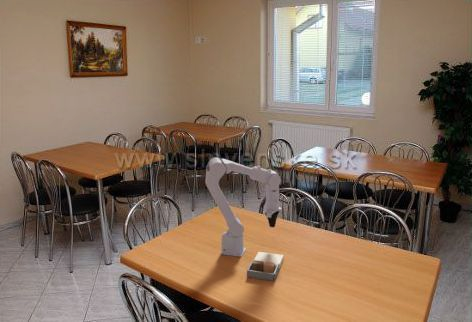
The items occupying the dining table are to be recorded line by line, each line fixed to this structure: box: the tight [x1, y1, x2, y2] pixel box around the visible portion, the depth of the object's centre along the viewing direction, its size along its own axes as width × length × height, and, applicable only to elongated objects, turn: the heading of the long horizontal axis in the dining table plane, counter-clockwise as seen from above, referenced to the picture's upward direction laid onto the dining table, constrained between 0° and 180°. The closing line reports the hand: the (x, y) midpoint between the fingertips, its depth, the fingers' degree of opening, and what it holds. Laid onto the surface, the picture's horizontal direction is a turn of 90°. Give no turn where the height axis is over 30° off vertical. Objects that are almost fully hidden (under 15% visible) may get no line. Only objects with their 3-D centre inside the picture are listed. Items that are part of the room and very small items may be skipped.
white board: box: [253, 251, 285, 270], centre depth 167 cm, size 11×9×2 cm
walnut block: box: [252, 259, 264, 272], centre depth 160 cm, size 4×4×2 cm
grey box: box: [246, 259, 280, 282], centre depth 159 cm, size 11×9×3 cm
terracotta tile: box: [264, 261, 275, 273], centre depth 158 cm, size 4×4×2 cm
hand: (272, 226), depth 177 cm, fingers closed
